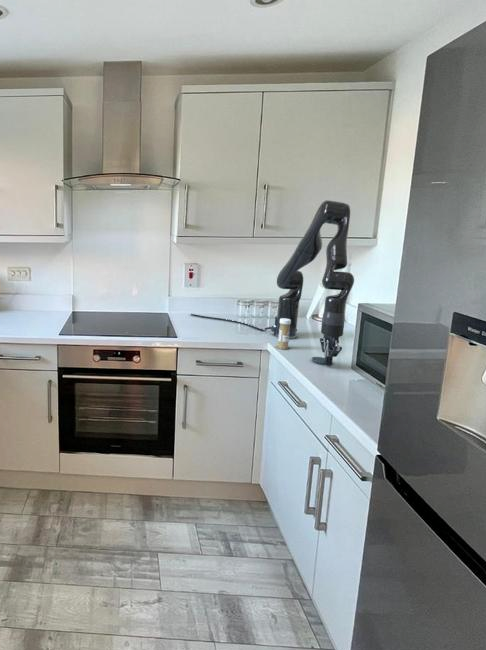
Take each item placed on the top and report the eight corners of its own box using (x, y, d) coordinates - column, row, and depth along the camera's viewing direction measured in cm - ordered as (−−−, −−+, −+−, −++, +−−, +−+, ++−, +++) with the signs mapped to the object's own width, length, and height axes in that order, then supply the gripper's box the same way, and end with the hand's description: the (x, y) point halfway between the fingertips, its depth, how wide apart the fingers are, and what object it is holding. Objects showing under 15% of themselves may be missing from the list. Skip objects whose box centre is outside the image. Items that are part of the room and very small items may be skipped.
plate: (308, 361, 172) (308, 358, 171) (316, 358, 176) (316, 355, 175) (325, 366, 166) (326, 363, 166) (333, 363, 170) (334, 360, 170)
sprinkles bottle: (287, 350, 186) (290, 320, 184) (276, 348, 189) (279, 319, 187) (288, 347, 190) (291, 318, 188) (278, 345, 193) (281, 317, 190)
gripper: (315, 318, 169) (310, 359, 172) (331, 326, 156) (326, 370, 159) (334, 319, 169) (329, 360, 172) (352, 327, 156) (346, 371, 158)
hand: (328, 365), depth 165 cm, fingers closed
